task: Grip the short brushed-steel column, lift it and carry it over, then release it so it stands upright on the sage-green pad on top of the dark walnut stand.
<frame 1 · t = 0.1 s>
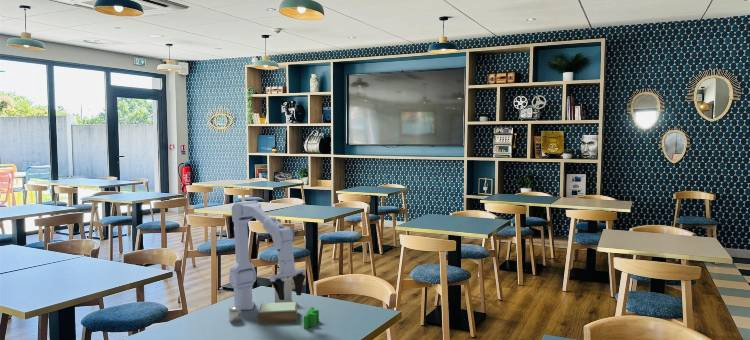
hand: (290, 297, 197), 11 cm above the table, tool pointing down, fingers open, 7 cm apart
pipe clamp: (312, 324, 200), on the table
grey rectangular block: (283, 303, 225), on the table
walnut stand: (278, 317, 206), on the table
steel column: (235, 320, 203), on the table
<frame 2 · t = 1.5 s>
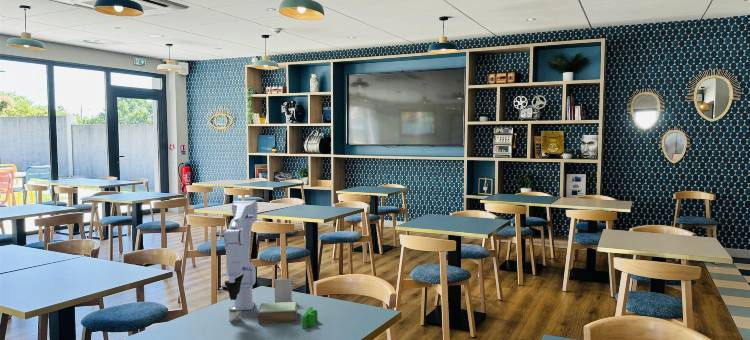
hand: (234, 296, 202), 9 cm above the table, tool pointing down, fingers open, 7 cm apart
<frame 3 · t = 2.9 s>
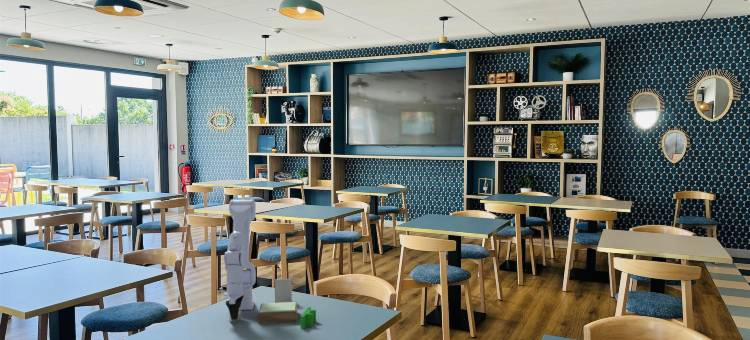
hand: (235, 317, 203), 1 cm above the table, tool pointing down, fingers closed on steel column, 4 cm apart
steel column: (235, 320, 203), on the table, touching gripper
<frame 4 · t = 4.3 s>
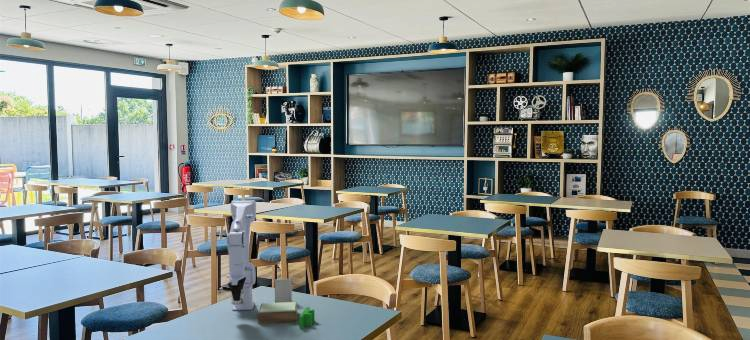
hand: (237, 298, 203), 8 cm above the table, tool pointing down, fingers closed on steel column, 4 cm apart
steel column: (237, 302, 203), point 7 cm above the table, touching gripper
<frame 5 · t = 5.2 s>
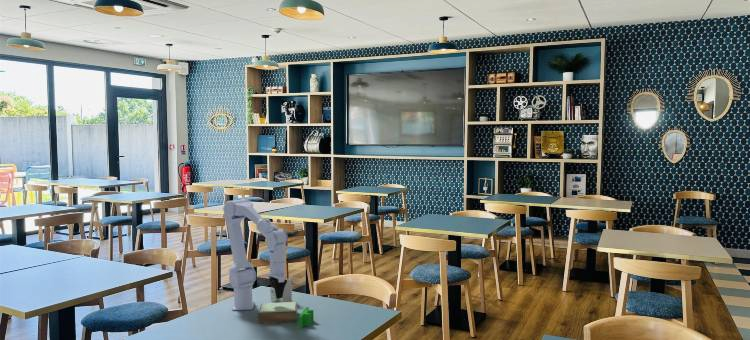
hand: (278, 296, 205), 8 cm above the table, tool pointing down, fingers closed on steel column, 4 cm apart
steel column: (277, 300, 205), point 7 cm above the table, touching gripper
when the fingers open (7 cm above the table, at t = 6.0 s): steel column stays where it is, resting on walnut stand.
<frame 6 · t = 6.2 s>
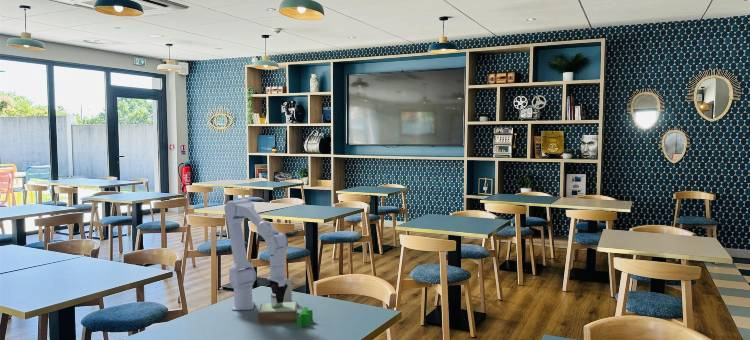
hand: (278, 300, 205), 7 cm above the table, tool pointing down, fingers open, 6 cm apart
steel column: (277, 306, 205), point 4 cm above the table, touching walnut stand
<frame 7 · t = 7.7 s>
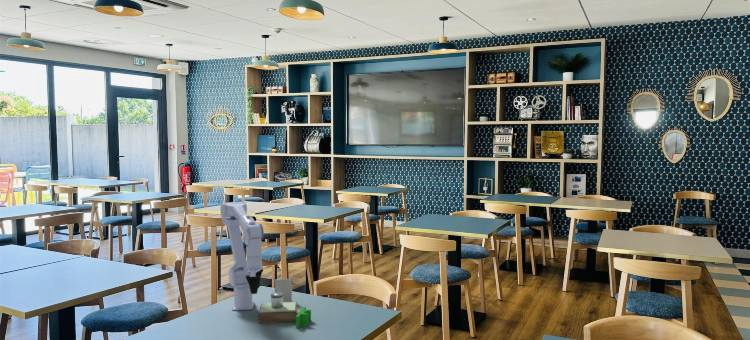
hand: (255, 290, 206), 10 cm above the table, tool pointing down, fingers open, 7 cm apart
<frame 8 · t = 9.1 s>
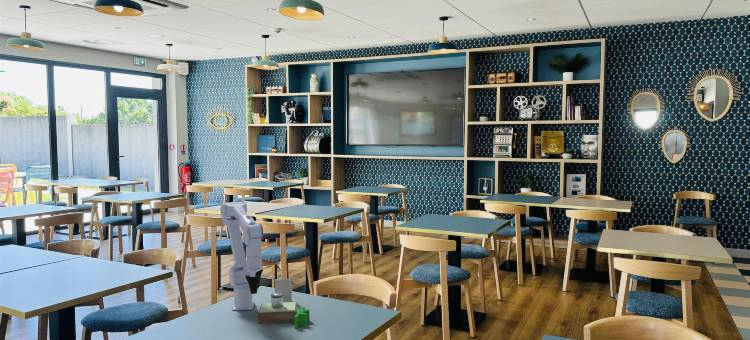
hand: (255, 290, 206), 10 cm above the table, tool pointing down, fingers open, 7 cm apart
at the end: steel column inside the target area on the walnut stand (0.4 cm from its centre), point 4.4 cm above the walnut stand's base; steel column tilted 0°; the gripper is holding nothing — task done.
